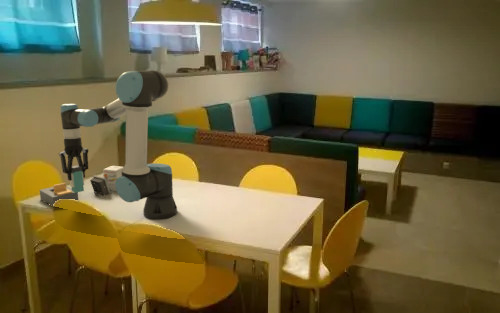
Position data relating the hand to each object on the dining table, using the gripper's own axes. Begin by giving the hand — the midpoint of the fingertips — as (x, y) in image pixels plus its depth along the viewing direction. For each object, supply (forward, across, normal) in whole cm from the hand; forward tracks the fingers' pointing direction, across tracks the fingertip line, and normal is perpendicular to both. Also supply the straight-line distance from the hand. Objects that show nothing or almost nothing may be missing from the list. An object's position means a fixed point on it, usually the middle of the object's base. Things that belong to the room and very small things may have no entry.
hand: (77, 185), depth 206 cm
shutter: (+4, +4, -8) cm, 10 cm away
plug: (+3, 0, 0) cm, 3 cm away
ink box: (+10, -25, -11) cm, 29 cm away
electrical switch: (+10, -16, -9) cm, 21 cm away
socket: (+9, +4, -13) cm, 16 cm away
